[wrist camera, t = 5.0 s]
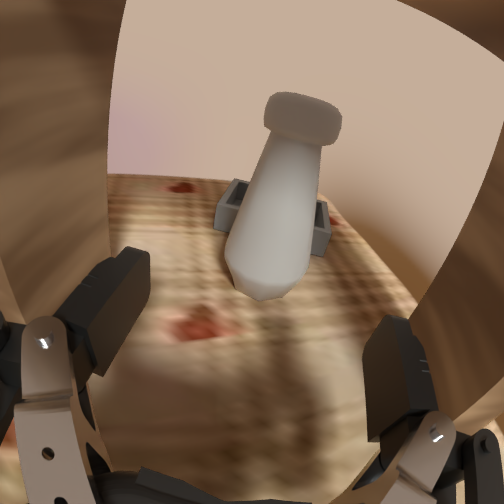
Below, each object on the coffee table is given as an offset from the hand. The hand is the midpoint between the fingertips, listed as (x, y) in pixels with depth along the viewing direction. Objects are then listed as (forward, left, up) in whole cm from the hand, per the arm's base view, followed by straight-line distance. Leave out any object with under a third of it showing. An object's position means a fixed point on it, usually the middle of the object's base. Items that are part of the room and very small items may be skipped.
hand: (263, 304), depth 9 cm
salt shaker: (0, +10, -7) cm, 12 cm away
